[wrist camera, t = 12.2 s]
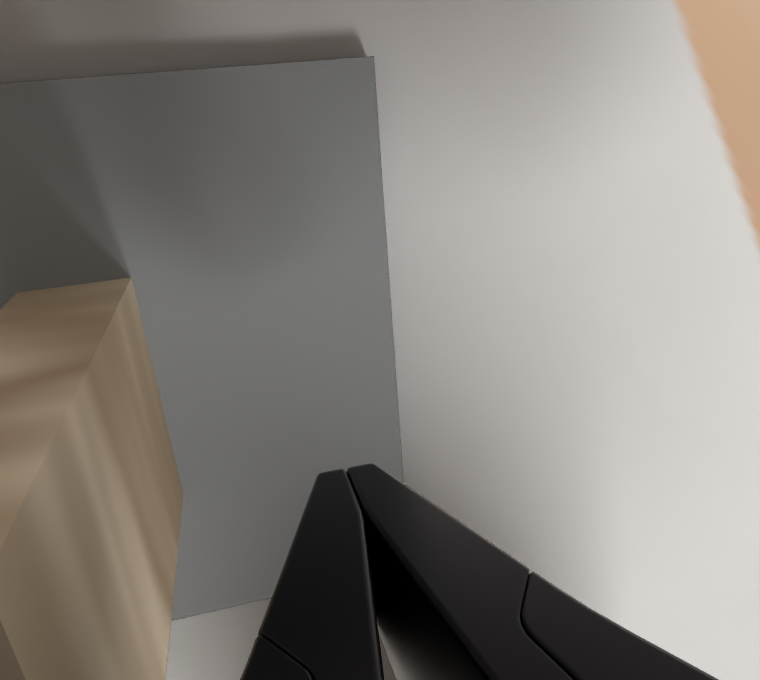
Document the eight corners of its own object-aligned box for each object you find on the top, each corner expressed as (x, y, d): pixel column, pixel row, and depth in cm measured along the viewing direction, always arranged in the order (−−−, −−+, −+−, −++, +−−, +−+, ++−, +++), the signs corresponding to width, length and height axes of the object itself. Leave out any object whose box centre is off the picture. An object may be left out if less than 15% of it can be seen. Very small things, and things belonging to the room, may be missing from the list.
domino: (131, 277, 12) (-18, 582, 4) (183, 493, 14) (139, 947, 6) (17, 292, 11) (-345, 650, 4) (87, 512, 13) (-73, 1016, 6)
